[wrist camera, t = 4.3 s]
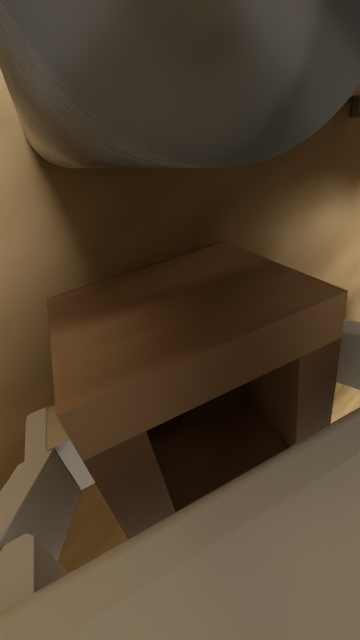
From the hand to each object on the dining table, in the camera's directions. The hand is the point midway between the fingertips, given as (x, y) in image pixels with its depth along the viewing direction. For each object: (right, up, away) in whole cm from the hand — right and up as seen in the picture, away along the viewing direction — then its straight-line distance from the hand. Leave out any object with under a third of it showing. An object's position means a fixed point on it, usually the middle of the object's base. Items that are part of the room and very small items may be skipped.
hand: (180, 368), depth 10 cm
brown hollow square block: (-1, +1, +1) cm, 2 cm away
